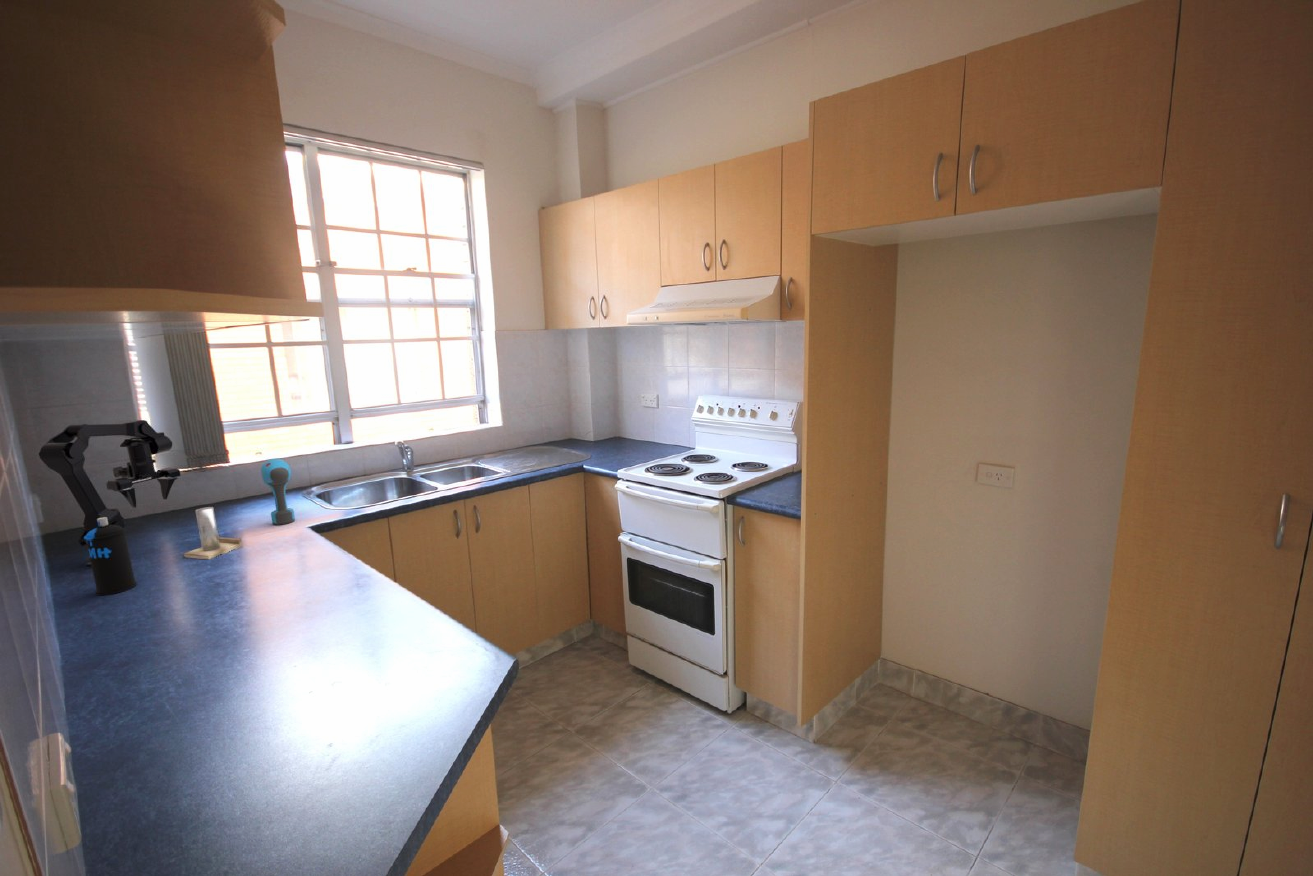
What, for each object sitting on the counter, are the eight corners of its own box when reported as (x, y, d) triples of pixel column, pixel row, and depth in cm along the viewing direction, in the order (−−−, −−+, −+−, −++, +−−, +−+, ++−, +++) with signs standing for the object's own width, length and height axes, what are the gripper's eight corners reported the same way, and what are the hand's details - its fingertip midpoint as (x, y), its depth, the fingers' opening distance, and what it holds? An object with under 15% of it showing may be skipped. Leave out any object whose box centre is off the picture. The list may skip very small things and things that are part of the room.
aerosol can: (124, 581, 163) (110, 512, 159) (144, 584, 160) (130, 514, 157) (88, 593, 155) (72, 522, 151) (109, 597, 152) (93, 524, 149)
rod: (207, 552, 180) (199, 511, 178) (199, 550, 182) (192, 510, 180) (223, 547, 184) (216, 507, 182) (215, 545, 186) (209, 506, 184)
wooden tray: (208, 559, 177) (207, 551, 177) (184, 557, 180) (183, 549, 180) (242, 546, 188) (241, 538, 187) (219, 544, 190) (217, 537, 190)
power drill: (262, 514, 223) (253, 455, 219) (288, 509, 229) (280, 451, 225) (273, 531, 202) (263, 466, 198) (302, 525, 208) (292, 461, 204)
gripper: (155, 451, 203) (163, 494, 206) (90, 463, 185) (100, 510, 188) (177, 452, 199) (186, 495, 202) (113, 464, 182) (124, 512, 185)
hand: (150, 503), depth 195 cm, fingers open, 9 cm apart
